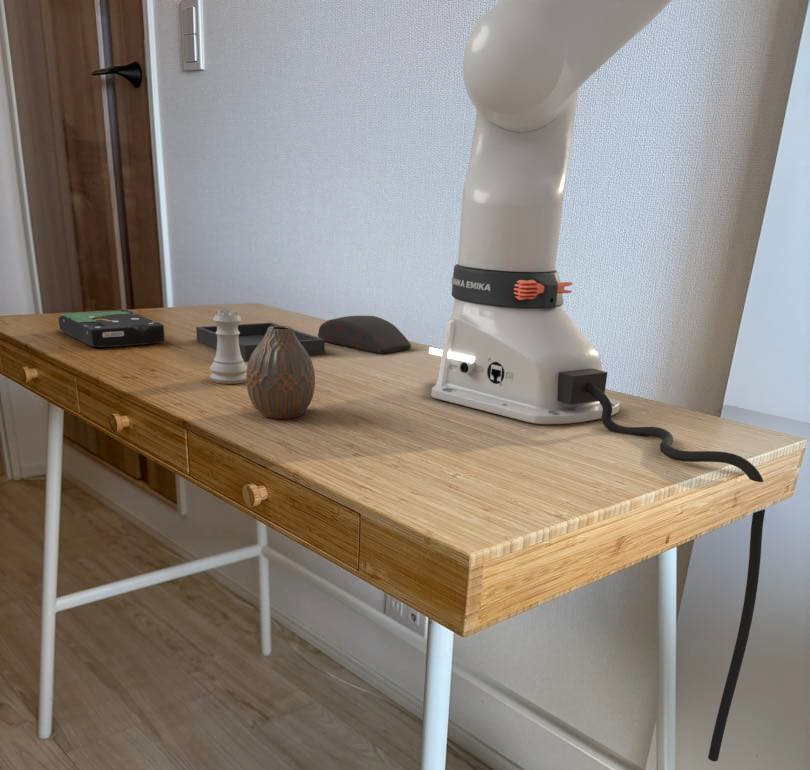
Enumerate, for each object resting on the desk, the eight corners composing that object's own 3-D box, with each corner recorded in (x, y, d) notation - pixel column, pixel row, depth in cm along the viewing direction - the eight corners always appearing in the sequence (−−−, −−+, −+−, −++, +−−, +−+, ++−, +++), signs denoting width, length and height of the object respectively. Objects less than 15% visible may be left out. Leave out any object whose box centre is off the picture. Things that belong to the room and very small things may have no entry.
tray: (324, 353, 116) (324, 339, 115) (245, 360, 109) (245, 345, 108) (271, 335, 127) (271, 322, 126) (196, 341, 120) (196, 327, 119)
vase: (276, 427, 81) (275, 335, 78) (233, 412, 85) (230, 325, 82) (328, 415, 86) (329, 329, 82) (285, 402, 90) (284, 319, 86)
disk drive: (167, 344, 117) (127, 326, 127) (166, 324, 116) (125, 308, 126) (93, 350, 111) (57, 331, 121) (91, 329, 110) (55, 311, 120)
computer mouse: (349, 335, 130) (349, 309, 129) (415, 349, 122) (416, 321, 121) (311, 340, 125) (311, 313, 123) (378, 355, 117) (379, 326, 115)
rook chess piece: (252, 377, 100) (251, 309, 97) (242, 385, 96) (240, 315, 93) (216, 375, 100) (213, 307, 97) (204, 383, 96) (201, 312, 93)
